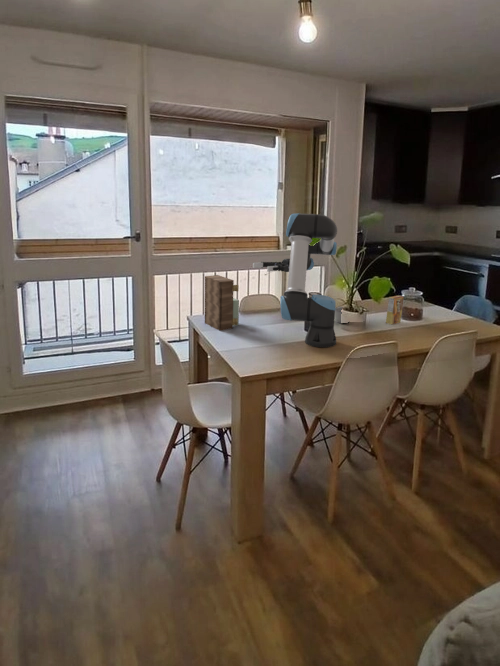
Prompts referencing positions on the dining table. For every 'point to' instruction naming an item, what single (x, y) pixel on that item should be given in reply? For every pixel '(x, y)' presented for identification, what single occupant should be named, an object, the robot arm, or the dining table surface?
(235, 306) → the pale green tall block
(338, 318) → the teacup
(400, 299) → the candy box
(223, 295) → the cabinet
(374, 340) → the dining table surface
